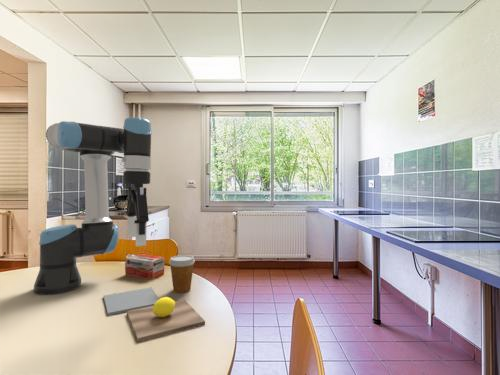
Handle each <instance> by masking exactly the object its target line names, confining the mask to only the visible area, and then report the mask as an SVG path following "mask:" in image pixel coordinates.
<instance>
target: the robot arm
mask: <svg viewBox="0 0 500 375" xmlns="http://www.w3.org/2000/svg"><path fill="white" fill-rule="evenodd" d="M123 122H124V123H123V128H119V127H114V126H113V127H111V126H105V125H104V126H103V125H95V124H89V123H80V122H76V121H66V120H65V121H63V120H61V121H60V122H58V123H57V122H56V123H53V124H52V125H50V126H48V128H46V130H45V138H46V140H47V142H48V143H49V145H50V146H52V147H53V148H56V149H59V150H62V151H66V152H70V153H71V152H72V153H79V158H80V159H82V161H83V162H84V167H83V168H84V198H85V200H84V203H85V208H84V209H85V219H84V220H83V221H82V222H81V227H78V226H77V225H76V224H64V225H63V224H62V225H58V226H53V227H49V228H46V229H44V230H42V231H41V232H40V234H39V242H38V245H39V269H38V274H37V276H36V279H35V282H34V285H33V292H34V293H35V294H37V295H54V294H55V295H56V294H61V293H66V292H69V291H72V290H75V289H77V288H79V287H81V285H82V277H81V274H80V271H79V269H78V266H77V258H85V257H90V256H99V255H100V256H101V255H104V254H109V253H112V252H114V251H115V249H117V245H118V242H119V232H120V231H119V227H118V226H117V224H114V220H113V219H112V218H110V212H109V210H110V209H109V205H110V204H109V180H108V175H109V174H108V161H109V160H111V158H112V155H114V154H115V152H116V153H119V154H123V158H122V159H121V162H122V163H123V169H124V171H123V174H122V175H123V177H122V178H123V180H122V182H123V183H124V184H128V187H127V188H128V190H127V192H128V193H127V203H126V209H125V213H126V217H127V218H126V219H127V220H126V222H127V224H126V225H127V226H126V228H127V229H126V232H127V233H126V237H127V238H135V247H144V246H147V222H149V221H150V219H149V209H148V199H147V198H148V197H147V191H148V190H147V187H144V185H149V184H151V172H150V171H151V165H152V164H151V163H152V162H151V161H152V159H151V158H152V157H151V154H152V151H151V149H152V147H151V146H152V125H151V124H152V123H151V121H150V120H148V119H146V118H142V117H134V116H133V117H126V118H125V119H124V121H123Z"/></svg>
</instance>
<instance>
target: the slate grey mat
mask: <svg viewBox="0 0 500 375" xmlns="http://www.w3.org/2000/svg"><path fill="white" fill-rule="evenodd" d="M159 299H160V298H159V296H158V294H157V293H156V292H155V291H154V289H153V288H152V287H144V288H141V289H134V290H128V291H122V292H115V293H111V294H110V293H109V294H105V295H103V301H104V304H105V309H106V313H107V316H114V315H117V314H123V313H127V311H130V310H135V309H140V308H145V307H150V306H154V304H155V303H156V301H157V300H159Z"/></svg>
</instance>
